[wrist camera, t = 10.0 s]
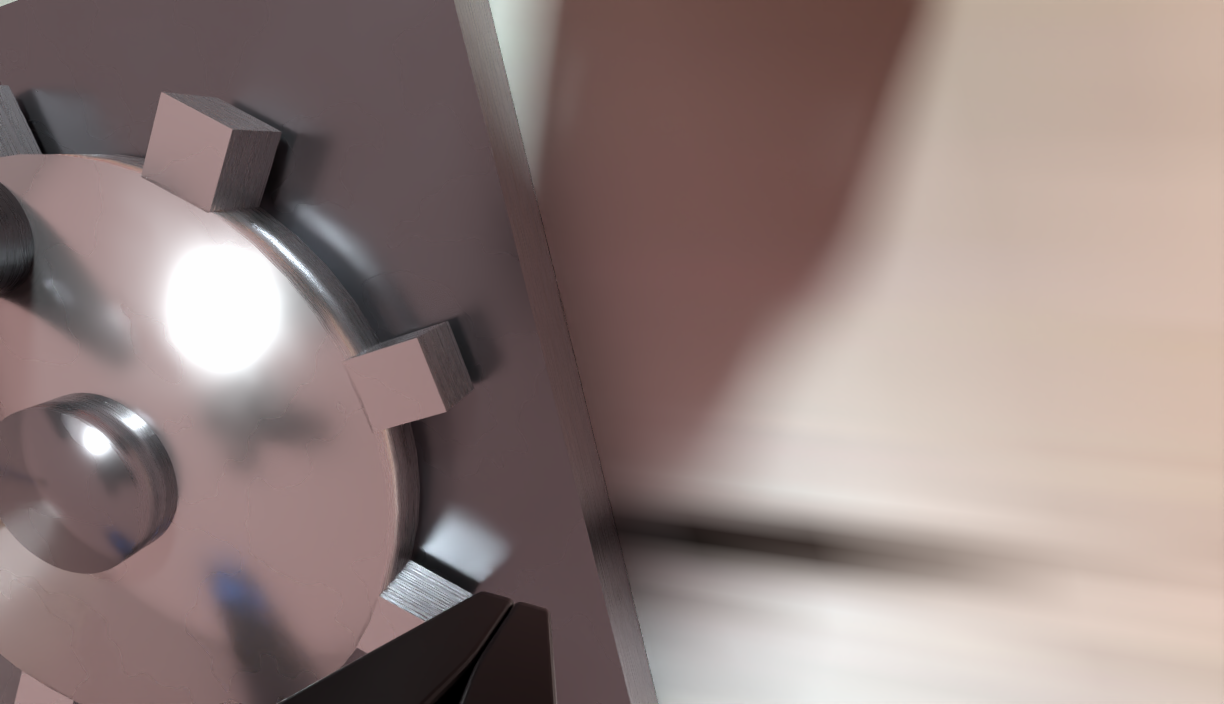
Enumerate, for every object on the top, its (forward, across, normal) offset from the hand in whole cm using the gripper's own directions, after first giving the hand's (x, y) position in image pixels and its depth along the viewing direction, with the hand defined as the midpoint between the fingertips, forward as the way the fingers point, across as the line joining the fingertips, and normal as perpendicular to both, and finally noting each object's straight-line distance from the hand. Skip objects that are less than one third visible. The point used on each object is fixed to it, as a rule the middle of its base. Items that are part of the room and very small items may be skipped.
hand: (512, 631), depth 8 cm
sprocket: (+9, +13, +5) cm, 17 cm away
